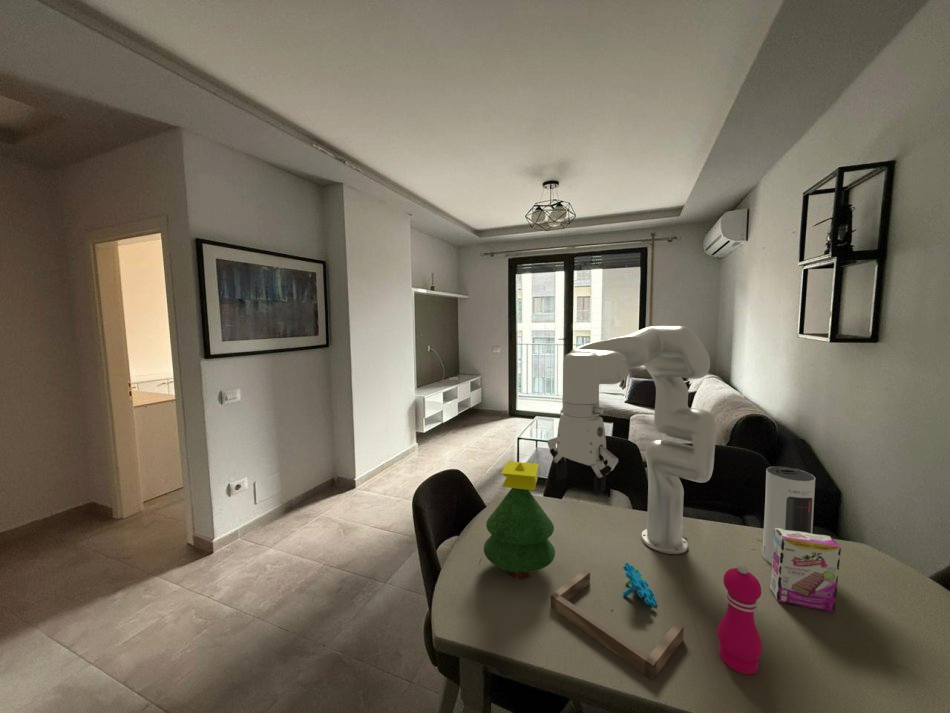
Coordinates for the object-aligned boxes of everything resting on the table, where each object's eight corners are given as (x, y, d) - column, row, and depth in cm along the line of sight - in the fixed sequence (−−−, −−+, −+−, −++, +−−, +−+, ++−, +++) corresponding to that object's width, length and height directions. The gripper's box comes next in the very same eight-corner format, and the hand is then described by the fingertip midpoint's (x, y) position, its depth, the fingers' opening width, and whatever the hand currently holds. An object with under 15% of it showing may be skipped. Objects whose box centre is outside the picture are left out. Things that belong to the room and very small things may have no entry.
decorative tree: (475, 588, 94) (474, 473, 92) (492, 545, 113) (491, 448, 110) (552, 602, 89) (553, 481, 87) (556, 554, 108) (557, 454, 105)
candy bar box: (777, 603, 88) (781, 537, 87) (769, 589, 93) (772, 526, 92) (837, 614, 85) (842, 546, 83) (824, 599, 89) (829, 534, 88)
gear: (660, 612, 84) (627, 573, 87) (640, 626, 85) (608, 586, 88) (656, 587, 94) (627, 552, 97) (638, 600, 95) (610, 565, 98)
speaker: (768, 568, 101) (773, 475, 99) (755, 547, 110) (760, 462, 108) (817, 578, 97) (824, 481, 95) (800, 555, 107) (806, 467, 104)
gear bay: (584, 580, 97) (584, 569, 97) (683, 639, 78) (683, 626, 78) (550, 607, 88) (550, 595, 88) (652, 680, 69) (653, 665, 69)
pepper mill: (707, 646, 77) (712, 554, 75) (740, 643, 77) (745, 552, 76) (735, 679, 70) (740, 578, 68) (770, 675, 70) (777, 575, 69)
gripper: (627, 413, 76) (625, 494, 78) (558, 401, 90) (558, 470, 91) (607, 420, 72) (605, 505, 73) (538, 405, 85) (538, 478, 86)
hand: (579, 485), depth 82 cm, fingers open, 9 cm apart
